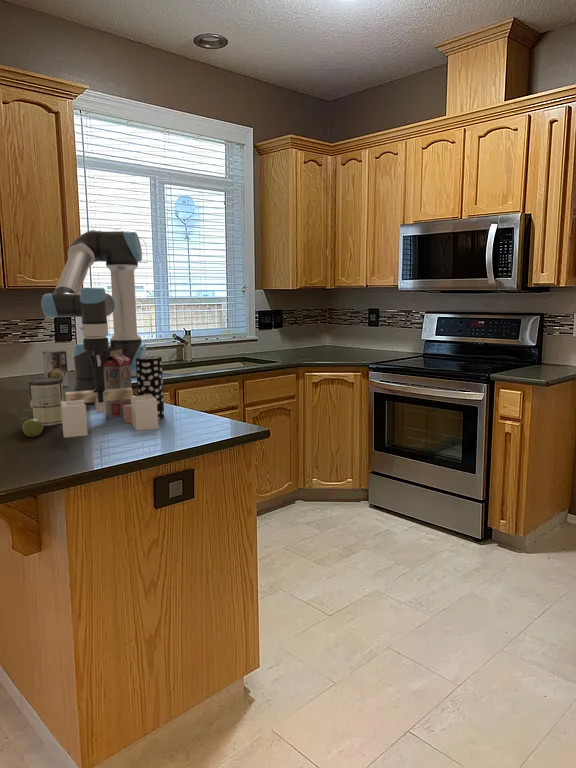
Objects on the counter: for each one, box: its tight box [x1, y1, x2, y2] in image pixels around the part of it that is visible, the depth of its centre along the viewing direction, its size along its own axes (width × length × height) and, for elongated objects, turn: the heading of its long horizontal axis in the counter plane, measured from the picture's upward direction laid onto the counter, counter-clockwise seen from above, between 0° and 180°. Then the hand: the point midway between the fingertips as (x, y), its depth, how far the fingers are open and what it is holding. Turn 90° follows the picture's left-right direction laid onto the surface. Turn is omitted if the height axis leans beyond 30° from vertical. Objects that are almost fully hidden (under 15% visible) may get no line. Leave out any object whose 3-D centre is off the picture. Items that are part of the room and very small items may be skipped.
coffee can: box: [27, 377, 65, 427], centre depth 188 cm, size 10×10×14 cm
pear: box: [21, 418, 44, 438], centre depth 173 cm, size 6×5×10 cm
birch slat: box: [65, 387, 134, 403], centre depth 186 cm, size 20×4×3 cm, turn 113°
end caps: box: [61, 395, 159, 438], centre depth 177 cm, size 27×10×9 cm, turn 113°
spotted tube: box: [136, 355, 165, 420], centre depth 194 cm, size 8×8×20 cm
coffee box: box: [42, 349, 70, 388], centre depth 263 cm, size 9×6×16 cm
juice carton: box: [104, 350, 133, 417], centre depth 200 cm, size 7×7×22 cm
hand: (100, 410), depth 186 cm, fingers closed on birch slat, 4 cm apart
